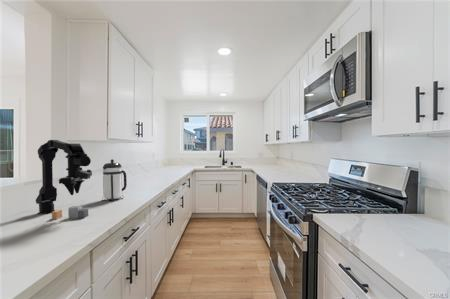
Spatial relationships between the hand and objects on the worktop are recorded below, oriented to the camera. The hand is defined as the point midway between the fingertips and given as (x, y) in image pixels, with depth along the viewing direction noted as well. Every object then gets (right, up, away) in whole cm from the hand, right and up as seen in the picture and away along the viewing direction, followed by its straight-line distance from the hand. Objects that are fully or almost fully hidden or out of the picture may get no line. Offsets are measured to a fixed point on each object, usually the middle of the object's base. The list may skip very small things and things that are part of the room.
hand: (74, 194), depth 131 cm
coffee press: (0, -13, +46) cm, 48 cm away
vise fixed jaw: (+4, -13, +1) cm, 14 cm away
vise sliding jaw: (-9, -13, -1) cm, 16 cm away
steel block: (0, -13, 0) cm, 13 cm away
